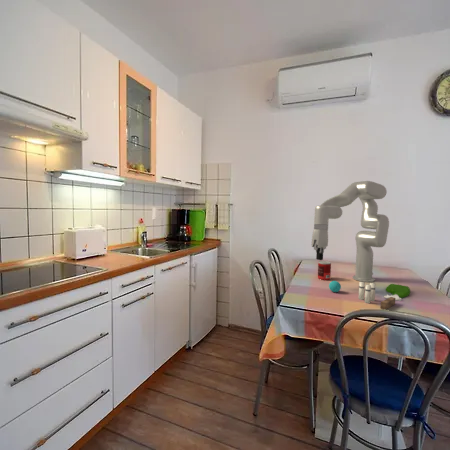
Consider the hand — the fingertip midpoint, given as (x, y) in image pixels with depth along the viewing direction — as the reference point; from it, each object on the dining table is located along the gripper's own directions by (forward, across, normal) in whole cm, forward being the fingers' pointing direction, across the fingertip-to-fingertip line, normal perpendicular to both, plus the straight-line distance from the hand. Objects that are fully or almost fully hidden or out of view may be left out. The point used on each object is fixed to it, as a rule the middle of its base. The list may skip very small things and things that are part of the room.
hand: (319, 259), depth 147 cm
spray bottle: (+17, -24, +31) cm, 43 cm away
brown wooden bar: (+16, 0, +36) cm, 39 cm away
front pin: (+16, 0, +24) cm, 29 cm away
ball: (+13, 0, +10) cm, 16 cm away
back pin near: (+16, +2, +28) cm, 32 cm away
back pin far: (+16, -3, +28) cm, 32 cm away
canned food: (+16, -20, -8) cm, 27 cm away
